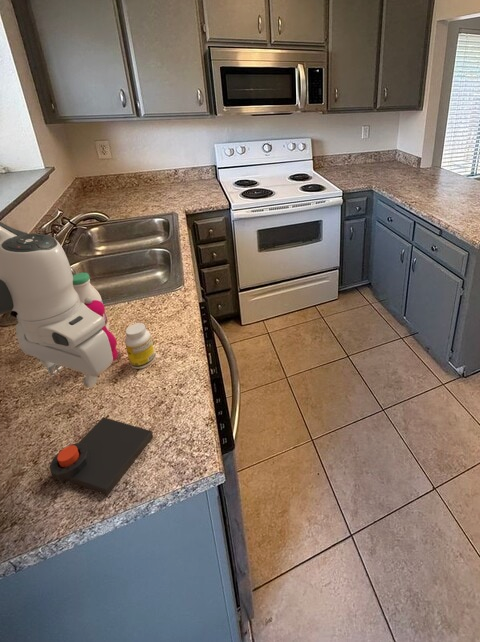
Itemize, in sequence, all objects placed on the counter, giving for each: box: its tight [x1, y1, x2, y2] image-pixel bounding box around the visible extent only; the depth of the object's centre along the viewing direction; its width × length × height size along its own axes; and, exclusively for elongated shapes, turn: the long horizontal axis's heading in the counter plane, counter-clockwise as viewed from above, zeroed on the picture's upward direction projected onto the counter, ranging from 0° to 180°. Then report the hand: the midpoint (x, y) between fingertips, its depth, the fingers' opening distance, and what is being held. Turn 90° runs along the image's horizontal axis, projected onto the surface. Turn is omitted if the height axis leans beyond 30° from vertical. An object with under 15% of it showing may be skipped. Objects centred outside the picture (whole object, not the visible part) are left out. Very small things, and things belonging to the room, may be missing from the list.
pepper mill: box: [84, 297, 119, 362], centre depth 96 cm, size 7×7×20 cm
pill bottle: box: [124, 322, 156, 370], centre depth 96 cm, size 6×6×11 cm
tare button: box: [57, 444, 79, 467], centre depth 69 cm, size 3×3×2 cm
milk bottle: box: [73, 272, 110, 331], centre depth 106 cm, size 8×8×20 cm
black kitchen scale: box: [49, 416, 154, 497], centre depth 72 cm, size 14×13×4 cm
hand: (73, 378), depth 70 cm, fingers open, 8 cm apart
